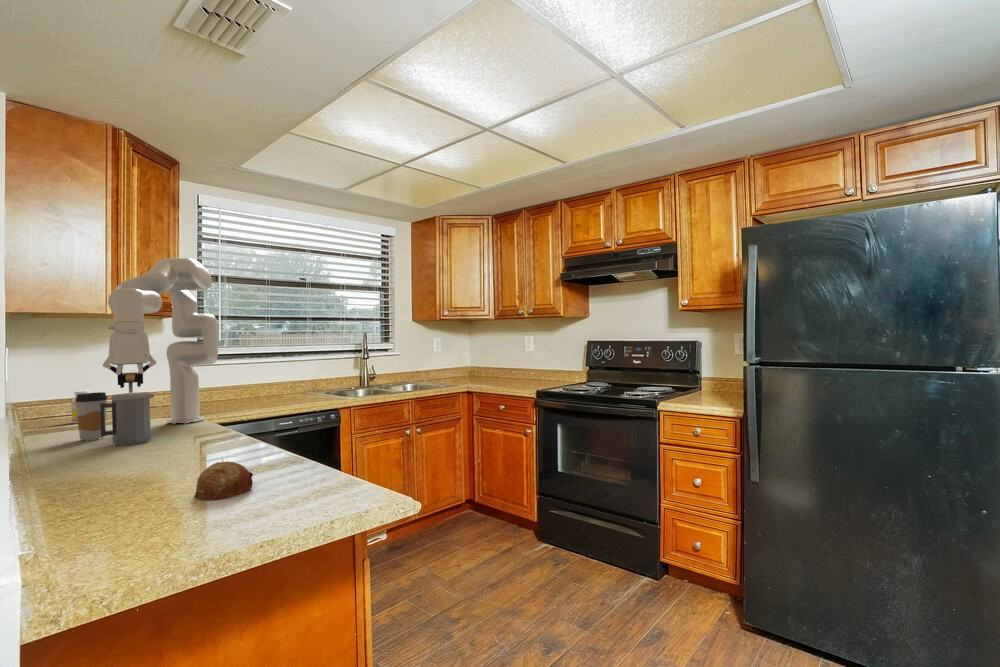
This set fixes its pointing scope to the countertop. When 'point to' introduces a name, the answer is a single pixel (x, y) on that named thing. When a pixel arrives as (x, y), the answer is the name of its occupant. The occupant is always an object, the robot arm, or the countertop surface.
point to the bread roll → (223, 481)
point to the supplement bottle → (74, 408)
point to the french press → (128, 418)
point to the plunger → (130, 380)
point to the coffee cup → (89, 414)
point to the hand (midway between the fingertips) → (130, 386)
